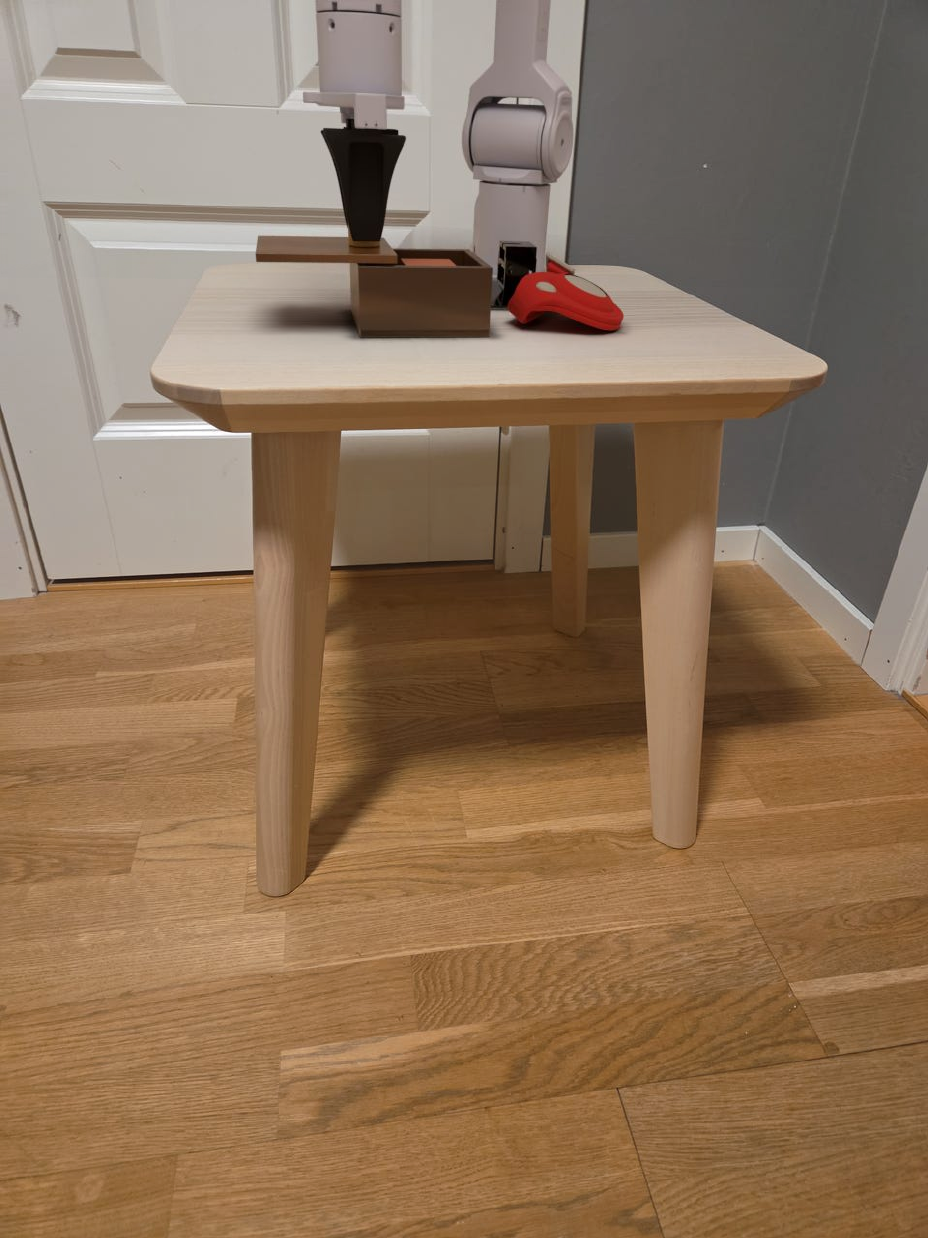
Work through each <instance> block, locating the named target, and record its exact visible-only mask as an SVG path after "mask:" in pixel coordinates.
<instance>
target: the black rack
mask: <svg viewBox="0 0 928 1238" xmlns="http://www.w3.org/2000/svg"><path fill="white" fill-rule="evenodd" d="M536 254H537V247H536V246H535V245H533V244H532V243H530V242H529V241H499V251H498V264H497V280H492V295H491V310H508V308H507V307H508V303H509V301H510V299H511V298H512V296H513V295H514V293H515V291H516V288H517V286H518V284H519V283H520V281H521V279H522V278H523V277H524V276H525V275H528V274H529V270H530V271H532V273H535V272H536V263H537V259H536ZM501 265H503V266H501Z"/></svg>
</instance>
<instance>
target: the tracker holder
mask: <svg viewBox="0 0 928 1238" xmlns="http://www.w3.org/2000/svg"><path fill="white" fill-rule="evenodd" d="M545 269H546V270H545V271H546V272H535V273H531V274H528V275H525V276H524V277H523V278H522V279H521V281H520V283H519V284H518V286H517V288H516V291H515V293H514V295H513V296H512V298H511V299H510V301H509V303H508V307H507V308H508V309H507V310H508V312H509V313H511V315H512V316H513V317H514V318H515V319H517V321H518V322H520V323H521V324H522V325H523V324H524V325H525V324H528V323H530V322H531V321H533V320H535V319H536V318H538V317H540V316H541V315H542V314H544V313H546V312H554V313H557V314H560V315H562V316H565V317H567V318H569V319H571V320H574V321H576V322H579V323H582V324H584V325H587V326H590V327H593V328H595V329H600V330H602V331H604V330H605V331H615V330H619V328H620V327H621V324H622V322H623V320H624V318H625V317H624V316H625V315H624V313H623V311H622V309H621V308H620V307H619V306H618V305H617V304H616V303H614V301H613V299H612V297H611V296H610V295H609V294H608V293H607V292H606V291H605V290H604V289H603V288H601V287H600V286H599V285H597V284H595V283H594V282H592V281H590V280H588V279H586V278H584V277H582V276H578V275H575V271H576V270H575V268H574V267H573V266H572V265H570V264H568V263H567V262H566V261H563V260H561V259H560V258H558V257H557V256H555V255H554V254H552V253H550V252H546V253H545Z"/></svg>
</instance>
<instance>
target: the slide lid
mask: <svg viewBox="0 0 928 1238" xmlns="http://www.w3.org/2000/svg"><path fill="white" fill-rule="evenodd" d="M256 240H257V241H256V248H255V261H256V263H290V264H291V263H295V264H296V263H298V264H300V263H301V264H350V263H387V264H397V263H398V256H397V254H396V253H395V251H394V250H393V249H392V248H393V247H392V246H391V245H390V244H389V242H388V241H387V240H386V239H385V237H381V239H380V241H353V240H352V237H351V234H350V230H349V226H348V228H347V236H316V235H315V236H313V235H312V236H307V235H258V236H257V239H256Z"/></svg>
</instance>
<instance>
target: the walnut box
mask: <svg viewBox="0 0 928 1238" xmlns="http://www.w3.org/2000/svg"><path fill="white" fill-rule="evenodd" d="M391 248H392V249H393V250H394V251H395V253H396V254H397V256H398V263H397V264H387V263H349V291H350V312H351V315H352V317H353V321H354V323H355V327H356V329H357V332H358V334H359V337H360V338H486V337H487V338H489V337H490V332H491V311H492V309H491V295H492V277H493V268H492V267H491V266H490V265H488V264H487V263H486V262H485V261H483V260H482V259H481V258H479V257H478V256H477V255H476V254H474V253H473V250H471V249H467V248H466V249H465V248H464V249H463V248H461V249H460V248H455V249H454V248H401V247H400V248H399V247H398V248H396V247H394V248H393V247H391ZM401 259H450V260H451V261H452V262H453V263H454V264H455V265H456V266H401Z"/></svg>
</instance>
